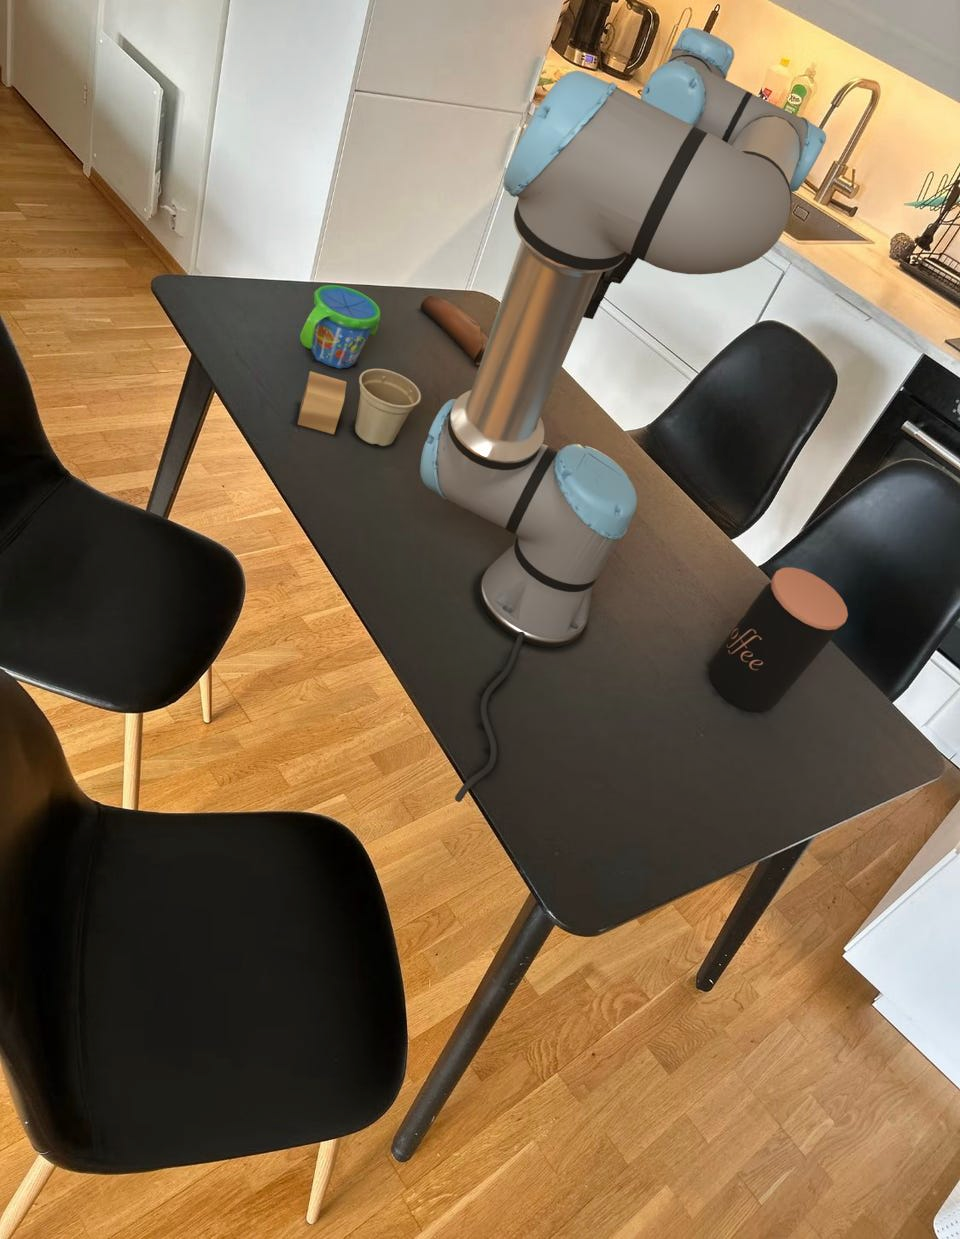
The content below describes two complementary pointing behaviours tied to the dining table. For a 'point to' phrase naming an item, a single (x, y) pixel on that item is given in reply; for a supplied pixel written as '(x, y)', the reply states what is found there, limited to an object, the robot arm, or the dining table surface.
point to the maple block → (322, 403)
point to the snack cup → (339, 325)
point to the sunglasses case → (457, 326)
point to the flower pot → (384, 405)
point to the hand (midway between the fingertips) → (583, 314)
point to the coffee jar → (776, 640)
